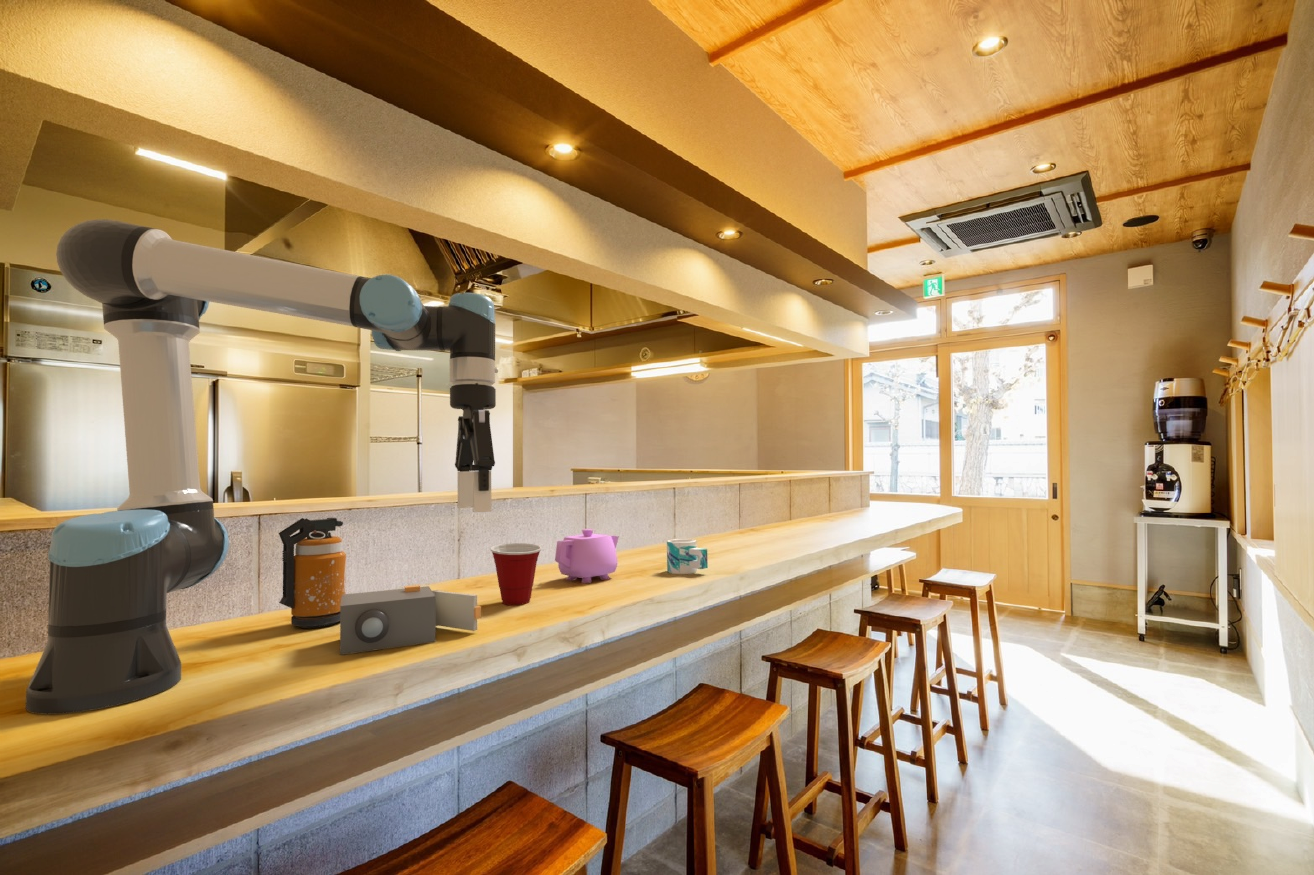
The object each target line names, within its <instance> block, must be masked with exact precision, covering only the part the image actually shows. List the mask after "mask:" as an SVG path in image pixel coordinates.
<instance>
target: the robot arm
mask: <svg viewBox="0 0 1314 875" xmlns="http://www.w3.org/2000/svg"><path fill="white" fill-rule="evenodd" d="M55 254H56V255H55V256H56V263H57V266H58V268H59V271H60V272H61V274H62V275H63V277H64V278H65V280H66V282H68V284H70V285H71V286H72V287H73V288H74V289H75V290H76V291H78V292H79V293H80V294H82V295H83V296H86V297H87V298H89V299H91V300H93V301H97V302H98V303H101V305H102V308H101V309H102V317H103V318H102V319H103V320H102V322H103V329H104V330H105V331H107V332H108V333H109V334H110V335H111V336H113V337H114V338H115V339H116V340H117V341H118V354H119V370H120V383H121V395H122V396H121V397H122V409H123V422H124V437H125V447H126V448H125V450H126V462H127V475H128V488H129V490H128V491H129V495H128V497H127V499H126V500H125V501H124V502H122V503H121V505H119V506H118V507H117V509H116V510H113V511H105V512H102V513H90V514H85V515H80V516H75V517H73V518H68V519H66V520H64V521H62V522H60V523H59V524H57V525H56V526H55V527H54V528H53V530H52V534H51V540H50V541H51V542H50V547H49V549H48V552H47V556H48V560H49V565H48V566H49V571H48V572H49V576H48V578H49V579H48V580H49V582H48V612H47V613H48V619H47V621H48V622H47V626H48V627H47V642H46V645H45V647H44V650H43V652H42V654H41V656H40V659H39V661H38V664H37V666H36V668H35V670H34V672H33V675H32V677H31V678H30V681H29V684H28V685H27V688H26V692H25V693H26V694H25V709H26V710H25V711H27V712H30V713H32V714H38V715H59V714H60V715H61V714H71V713H80V712H86V711H88V712H89V711H93V710H94V711H95V710H99V709H104V708H109V707H115V706H119V705H122V704H123V705H124V704H126V703H127V704H128V703H131V702H134V701H138V700H142V699H144V698H147V697H151V696H153V695H156V694H160V693H162V692H164V691H166V690H168V689H171V688H172V687H174V686H176V685H177V684H178V683H179V682H180V681H181V679H182V662H181V658H180V656H179V654H178V651H177V649H176V646H175V643H174V642H173V638H172V636H171V633H170V631H169V629H168V626H167V600H168V599H167V596H168V594H169V593H172V592H175V591H179V590H185V589H188V588H190V587H194V586H196V585H197V584H199V583H201V582H202V581H204V580H206V579H208V578H209V577H210V576H213V574H215V573H216V572H217V570H219V568H220V567H221V566H222V564H223V563H224V561H225V560H226V557H227V555H228V552H229V547H230V539H229V534H228V531H227V528H226V527H225V525H224V524H223V523H222V522H221V521H219V520H218V519H217V518H216V517H215V510H214V500H213V497H211V496H209V495H208V494H206V493H205V492H204V491H202V489H201V480H200V469H199V456H198V454H199V453H198V442H197V430H196V418H195V415H196V414H195V405H194V404H195V403H194V393H193V380H192V367H191V366H192V365H191V356H190V355H191V354H190V342H191V341H192V340H193V339H194V338H195V337H197V335H199V334H200V333H201V332H200V330H201V329H200V319H201V317H203V315H205V314H206V312H207V311H208V308H209V306H210V303H216V304H222V305H227V306H234V307H239V308H244V309H245V308H246V309H250V310H255V311H262V312H266V313H267V312H269V313H273V314H278V315H284V316H285V315H286V316H291V317H297V318H303V319H307V320H315V321H320V322H326V323H331V324H337V325H344V326H349V327H354V328H358V329H363V330H368V331H371V336H372V340H373V342H374V345H375V346H376V347H377V348H378V349H380V350H388V351H389V350H390V351H396V352H401V351H429V352H430V351H440V352H449V383H451V384H452V385H451V387H450V388H449V405H450V407H451V408H452V409H455V410H462V416H461V415H459V416H458V418H457V422H458V424H457V426H458V427H457V439H456V440H457V441H456V451H455V462H454V467H455V468H456V471H457V508H458V509H465V508H469V509H470V508H473V509H472V512H473V513H485V512H486V513H487V512H488V513H489V512H492V469H493V467H495V464H496V461H495V454H494V446H493V440H492V439H493V438H492V437H493V436H492V430H491V424H490V422H491V421H490V420H491V419H490V418H491V417H490V415H491V412H490V410H492V409H494V408H495V407H496V406H497V405H496V403H497V402H496V400H497V399H496V398H497V397H496V396H497V394H496V392H497V391H496V390H497V389H496V388H495V387H494V386H492V385H494V384H495V383H496V374H498V373H499V368H498V367H495V366H496V315H495V303H494V302H493V300H492V299H491V298H490V297H489V296H487V295H485V294H480V293H477V292H476V293H475V292H463V293H459V292H458V293H454V294H453V295H451V296H450V298H449V302H448V304H447V306H446V305H443V306H435V305H434V306H431V305H430V306H429V305H424V304H423V303H422V300H421V298H420V296H419V294H418V292H417V291H416V289H415V288H414V287H413V286H412V285H411V284H409V283H408V282H407V281H405V279H402V278H401V277H400V276H397V275H392V274H381V275H376V276H374V277H366V276H359V275H355V274H352V273H347V272H346V273H345V272H341V271H335V270H329V269H325V268H320V267H319V268H318V267H314V266H308V265H304V264H299V263H294V262H289V261H283V260H278V259H274V258H269V257H263V256H258V255H253V254H249V253H242V252H238V251H232V250H227V249H223V248H218V247H212V246H206V245H201V244H196V243H192V242H191V243H190V242H186V241H182V240H181V241H180V240H175V239H172V237H171V236H170V235H169V234H168V233H167V231H164V230H162V229H158V228H154V227H148V226H143V225H140V224H134V223H130V222H125V221H118V220H113V219H105V218H104V219H99V218H97V219H91V220H90V219H89V220H85V221H82V222H79V223H77V224H75V225H74V226H73V225H72V226H71V227H69V228H68V229H67V230H66V231H65V232H64V234H62V236H61V237H60V239H59V241H58V244H57V247H56V253H55Z"/></svg>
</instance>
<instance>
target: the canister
mask: <svg viewBox="0 0 1314 875" xmlns="http://www.w3.org/2000/svg"><path fill="white" fill-rule="evenodd" d="M343 525H344V522H343V521H341V520H338V519H337V517H327V518H322V519H308V518H307V517H306V518H303V517H302V518H300V519H298V520H297V521H295V522H294V523H292V524H291V525H289V526H287V527H286V528H284V529H283V530H281V531H280V532H278V535H279V538H280V541H281V542H282V551H281V552H282V554H281V555H282V558H281V559H282V598H281V599H280V600H279V604H280V605H282V606H285V607H287V608H291V609H290V610H291V615H292V616H291V620H290V624H291V625H292V626H296V627H300V628H302V629H316V628H325V627H328V626H333V625H336V624H337V623H339V622H340V605H341V596H342V595H343V594H347V553H346V552H344V541H343V540H342V538H341V537H339V536H335V535H334V536H332V534H331V532H333V531H334V532H336V531H337V530H336V528H337V527H338V528H339V527H342V526H343ZM297 531H298V532H297Z"/></svg>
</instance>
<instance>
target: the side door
mask: <svg viewBox="0 0 1314 875" xmlns="http://www.w3.org/2000/svg"><path fill="white" fill-rule="evenodd" d="M432 592H433V593H434V595H435V627H445V628H453V629H459V630H465V631H472V632H476V631H477V630H478V620H479V619H481V618H482V606H480V605H478V595H477V594H469V593H463V592H454V591H453V592H452V591H446V590H445V591H442V590H438V589H436V590H432Z"/></svg>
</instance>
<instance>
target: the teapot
mask: <svg viewBox="0 0 1314 875" xmlns="http://www.w3.org/2000/svg"><path fill="white" fill-rule="evenodd" d="M581 532H582V534H576V535H569V536H565V537H564V538H563V540H557V541H556V547H555V548H556V549H555V558H554V562H557V563H558V565H557V566H558V570H559V572H560V574H561V575H564V576H567V577H566V579H565V580H566V581H576V580H577V579H578V578H581V584H590V583H592V582H593V581H592V578H593V577H599V578H600V580H610V579H611V577H610V575H609V574H614V573H615V572H616V571H617V567H618V556H617V550H616V549H617V545H618V540H619V536H618V535H609V534H600V533H594V529H592V528H583V529H582V530H581Z"/></svg>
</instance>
